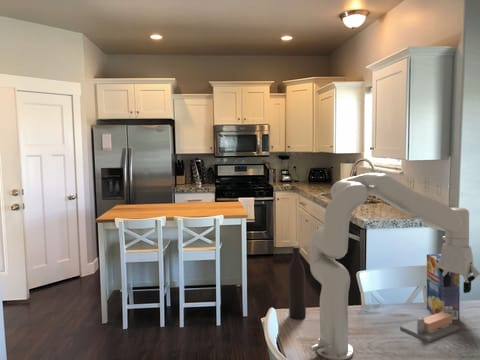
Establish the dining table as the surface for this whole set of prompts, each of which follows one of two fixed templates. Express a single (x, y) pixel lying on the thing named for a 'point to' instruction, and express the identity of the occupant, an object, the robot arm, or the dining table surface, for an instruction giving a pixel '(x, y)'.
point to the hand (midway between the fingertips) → (456, 288)
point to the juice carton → (441, 289)
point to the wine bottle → (296, 287)
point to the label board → (418, 331)
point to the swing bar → (437, 321)
